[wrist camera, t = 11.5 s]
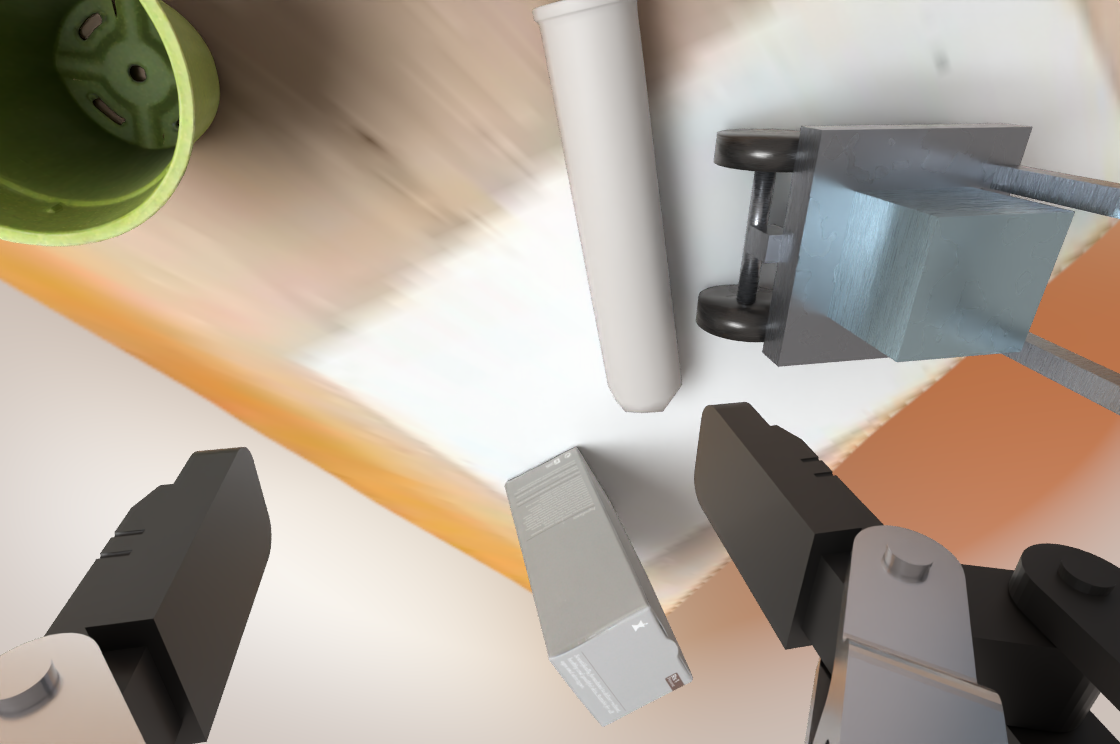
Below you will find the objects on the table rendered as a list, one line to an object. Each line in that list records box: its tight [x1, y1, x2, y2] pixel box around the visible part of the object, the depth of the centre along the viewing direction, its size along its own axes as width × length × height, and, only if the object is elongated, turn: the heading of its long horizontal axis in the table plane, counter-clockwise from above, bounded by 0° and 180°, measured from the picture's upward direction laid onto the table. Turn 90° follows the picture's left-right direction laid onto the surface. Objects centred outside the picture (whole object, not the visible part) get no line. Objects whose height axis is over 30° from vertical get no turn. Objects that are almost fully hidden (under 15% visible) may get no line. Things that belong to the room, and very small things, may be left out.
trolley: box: [696, 123, 1120, 415], centre depth 31 cm, size 13×18×22 cm
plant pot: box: [0, 0, 220, 246], centre depth 26 cm, size 12×12×11 cm
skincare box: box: [505, 447, 693, 726], centre depth 41 cm, size 8×7×16 cm
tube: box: [532, 0, 682, 413], centre depth 37 cm, size 5×5×25 cm
